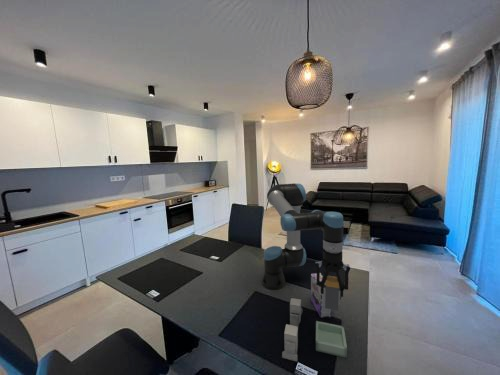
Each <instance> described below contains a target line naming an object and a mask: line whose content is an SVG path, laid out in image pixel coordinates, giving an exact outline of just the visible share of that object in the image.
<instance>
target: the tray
mask: <svg viewBox="0 0 500 375" xmlns="http://www.w3.org/2000/svg"><path fill="white" fill-rule="evenodd" d="M347 346H348V345H347V339H346V333H345V326H343V325H339V324H334V323H329V322H324V321H318V320H316V321H315V351H316V352H320V353H324V354H328V355H333V356H336V357H339V358H345V359H347V358H348V347H347Z"/></svg>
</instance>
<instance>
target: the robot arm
mask: <svg viewBox="0 0 500 375" xmlns="http://www.w3.org/2000/svg"><path fill="white" fill-rule="evenodd" d="M306 193H307V192H306V189H305V187H304V185H303V184H301V183H281V184H280V183H279V184H276V185H275V184H274V185H273V186H272V187H270V188H269V189H268V191H267V194H266V199H267V201H268V203H269V204H270V205H271V206H273V207H274V209H275V210H276V212H277V213H278V215H279V216H280V218H279V219H280V221H279V223H280V226H281V229H282V231H284V232H286V243H285V244H284V248H282V247H281V246H278V245H273V246H269V247H267V248H266V249H264V251H263V252H264V253H263V263H264V264H263V266H264V267H263V269H264V271H263V275H262V278H261V284H262V286H263V287H264V288H266V289H269V290H272V291H273V290H275V291H276V290H280V289H282V288H284V287H285V285H286V279H285V275H284V273H283V268H295V267H301V266H304V265H305V264H306V261H307V252H306V249H305V247H303V245H302V243H301V231H309V230H320V231H322V232H323V235H322V236H323V237H322V238H323V239H322V248H323V249H322V259H321V261H318V260H316V261H315V268H316V273H317V281H316V284H317V285H319V286H320V287H321V294H323V302H325V293H326V287H325V282H326V279H327V276H329V273H332V272H333V273H335V275H336V277H337V279H338V282H339V300H338V306H341V298H343V297H344V290H345V291H346V290H349V273H350V271H351V266H350V264H346V263H344V262H343V247H344V246H343V245H344V244H343V242H344V225H345V223H344V215H343V214H342V213H341V212H337V211H326V212H324V210H320V209H313V210H312V211H311V212H301V207H303V204H304V202H306V199H307V194H306ZM322 266H323V268H324V272H323V274H322V276H323V277H322V281H320V273H321V269H320V268H321V267H322ZM342 268H343V270H344V276H343V277H344V281H342V278H341V275H340V274H341V273H340V270H341V269H342ZM343 282H344V284H343Z"/></svg>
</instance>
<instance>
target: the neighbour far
mask: <svg viewBox="0 0 500 375" xmlns="http://www.w3.org/2000/svg"><path fill="white" fill-rule="evenodd" d="M301 308H302V299H299V298H294V297H291V298H290V301H289V315H290V314H291V311H295V312H299V324H300V323H301V321H302V320H301V317H302V314H301Z"/></svg>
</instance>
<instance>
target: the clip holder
mask: <svg viewBox="0 0 500 375" xmlns="http://www.w3.org/2000/svg"><path fill="white" fill-rule="evenodd" d="M302 314H303V308H302V307H301V315H302ZM287 325H292V326H297V327H298V329H300V328H299V326H300V323H299V312H295V311H291V314H290V313H289V324H287ZM281 354H282V355H281V358H282V359H285V360H289V361H293V362H297V363H298V354H297V355H296V354H295V343H292V342H288V341H285V351H284V350H283V351H282V352H281Z"/></svg>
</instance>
